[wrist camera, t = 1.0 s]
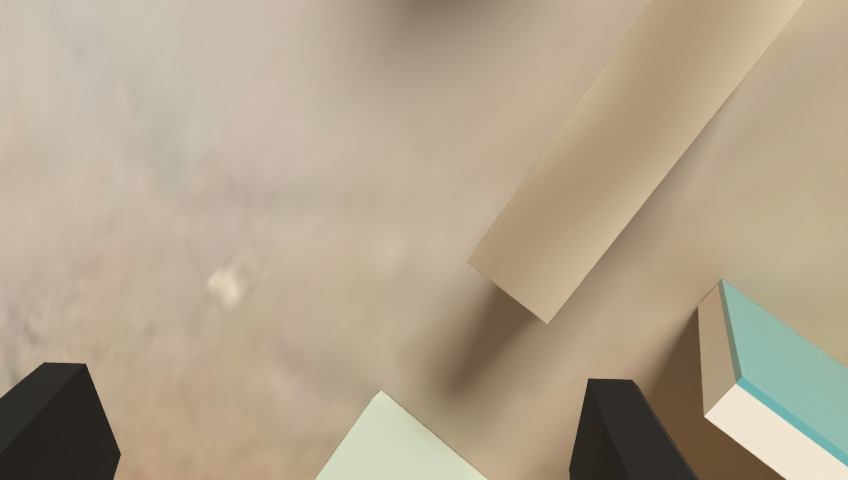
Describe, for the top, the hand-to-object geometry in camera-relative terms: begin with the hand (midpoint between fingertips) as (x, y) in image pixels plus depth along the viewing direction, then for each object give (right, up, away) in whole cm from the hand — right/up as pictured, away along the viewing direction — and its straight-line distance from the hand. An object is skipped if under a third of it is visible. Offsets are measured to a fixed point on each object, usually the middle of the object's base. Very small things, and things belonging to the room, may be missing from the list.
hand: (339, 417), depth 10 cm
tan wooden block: (+8, +6, +12) cm, 16 cm away
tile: (+13, -1, +12) cm, 18 cm away
